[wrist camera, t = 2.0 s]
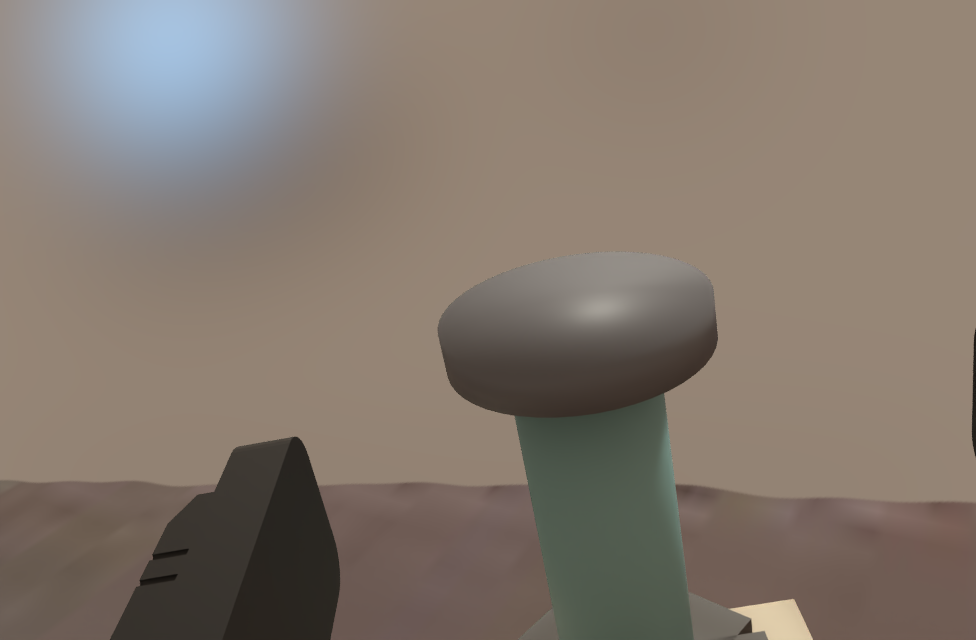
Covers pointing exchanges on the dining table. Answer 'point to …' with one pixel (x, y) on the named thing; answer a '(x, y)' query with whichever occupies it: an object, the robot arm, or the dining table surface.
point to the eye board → (777, 620)
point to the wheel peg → (593, 422)
